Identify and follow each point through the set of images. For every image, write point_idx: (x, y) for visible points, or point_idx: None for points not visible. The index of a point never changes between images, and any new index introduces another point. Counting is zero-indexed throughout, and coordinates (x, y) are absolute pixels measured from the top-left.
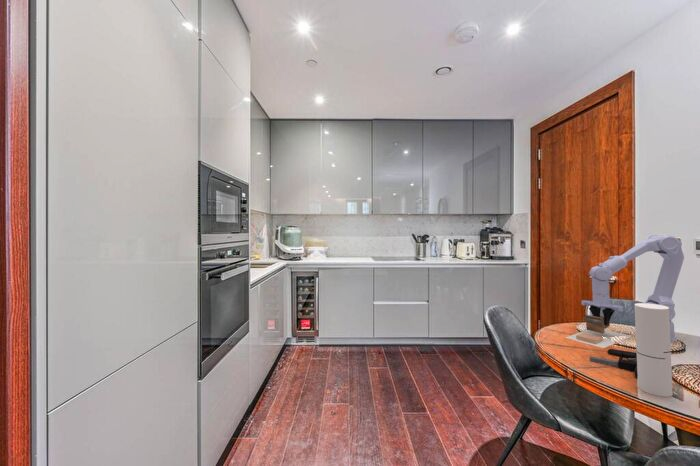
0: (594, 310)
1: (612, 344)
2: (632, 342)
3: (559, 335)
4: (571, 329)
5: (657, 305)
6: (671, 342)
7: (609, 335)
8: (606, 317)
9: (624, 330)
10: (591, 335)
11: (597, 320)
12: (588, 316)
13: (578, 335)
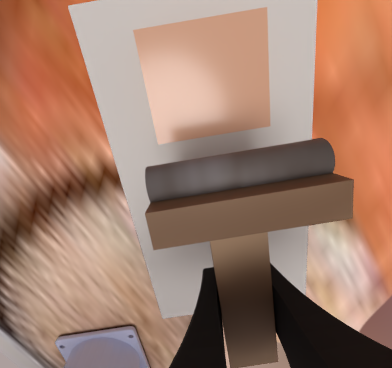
0: (332, 363)
1: (107, 136)
2: (115, 258)
3: (367, 3)
4: (365, 192)
5: None
6: (62, 355)
7: (208, 253)
8: (196, 324)
9: (226, 353)
10: (214, 119)
11: (184, 175)
12: (307, 183)
13: (257, 25)
